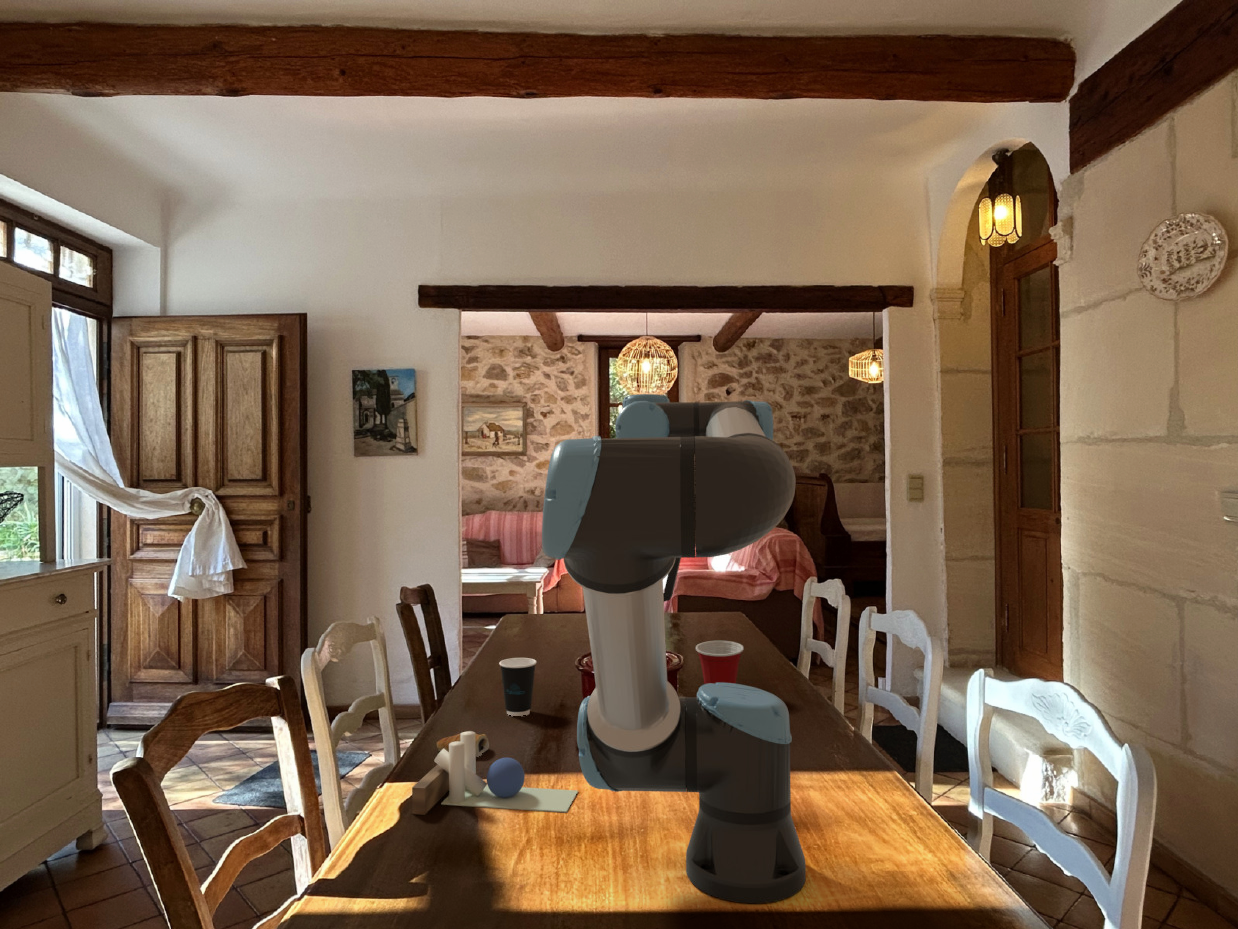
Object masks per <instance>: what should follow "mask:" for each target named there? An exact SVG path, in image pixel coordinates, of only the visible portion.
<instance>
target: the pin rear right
mask: <svg viewBox="0 0 1238 929" xmlns="http://www.w3.org/2000/svg"><path fill="white" fill-rule="evenodd" d="M448 791H449V792H448V796H449V801H450V802H451V803H461V802H463V801H464V800H465V743H464V742H461V741H456V742H451V743H450V744H449V790H448Z"/></svg>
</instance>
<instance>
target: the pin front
mask: <svg viewBox="0 0 1238 929" xmlns="http://www.w3.org/2000/svg"><path fill="white" fill-rule="evenodd" d="M433 761H434V763H436V765H437V764H438V765H439V766H440V767H442V768H443V769H444V770H445V771H447V772H448V773H449V752H448V751H446V750H445V749H442V750H441V751H440V752H439V753H437V755H436V756H435V758H434V760H433ZM486 785H487V781H485V780H483V779H482V778H481V777H480V776H479V775H478V774H475V773H474V772H472V771H471V770H470V769H469V768H467V767H466V766H465V787H466V788H467V789H469V790H470V791H471V792H472V793H474V794H475V795H476V796H477V797H478V796H479V795H480V793H481V792H482V791H483V789H484V788H485V787H486Z"/></svg>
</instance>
